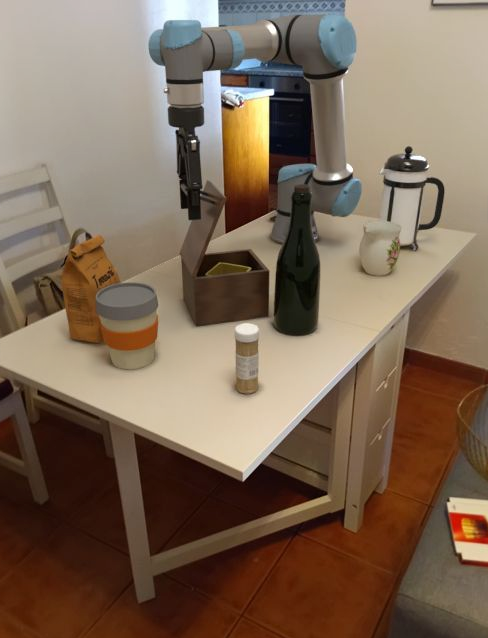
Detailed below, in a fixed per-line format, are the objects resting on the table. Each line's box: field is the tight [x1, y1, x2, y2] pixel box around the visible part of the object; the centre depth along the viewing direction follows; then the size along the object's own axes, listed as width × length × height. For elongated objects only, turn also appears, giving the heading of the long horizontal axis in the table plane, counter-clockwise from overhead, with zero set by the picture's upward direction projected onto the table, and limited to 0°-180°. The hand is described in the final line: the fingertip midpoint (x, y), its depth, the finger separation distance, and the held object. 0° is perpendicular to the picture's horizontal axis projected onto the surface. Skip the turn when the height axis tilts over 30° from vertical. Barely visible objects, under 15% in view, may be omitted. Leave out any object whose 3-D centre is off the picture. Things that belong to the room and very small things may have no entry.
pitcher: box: [359, 220, 401, 277], centre depth 166 cm, size 11×18×14 cm, turn 143°
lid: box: [178, 179, 228, 277], centre depth 134 cm, size 19×15×7 cm
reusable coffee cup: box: [96, 281, 160, 370], centre depth 123 cm, size 13×13×15 cm
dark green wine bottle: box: [273, 184, 321, 336], centre depth 131 cm, size 10×10×33 cm
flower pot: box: [205, 263, 251, 276], centre depth 145 cm, size 9×9×9 cm
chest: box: [180, 248, 271, 327], centre depth 144 cm, size 18×15×12 cm
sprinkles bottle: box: [234, 322, 260, 395], centre depth 113 cm, size 5×5×13 cm
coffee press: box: [378, 145, 446, 251], centre depth 180 cm, size 17×16×30 cm
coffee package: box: [61, 234, 121, 343], centre depth 131 cm, size 10×12×22 cm
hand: (190, 213), depth 133 cm, fingers closed on lid, 8 cm apart
